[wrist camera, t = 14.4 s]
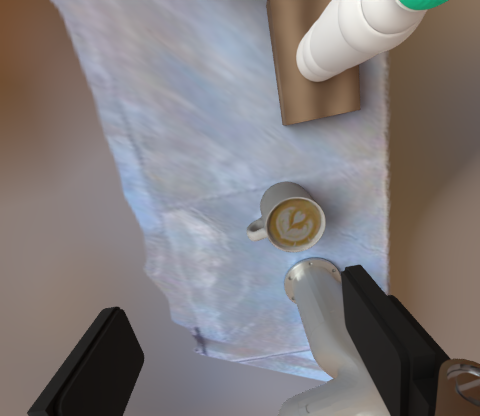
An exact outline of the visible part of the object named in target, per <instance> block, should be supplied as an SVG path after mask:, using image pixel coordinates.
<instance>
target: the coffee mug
mask: <svg viewBox="0 0 480 416" xmlns="http://www.w3.org/2000/svg"><path fill="white" fill-rule="evenodd" d="M260 210H261V214H262V217H261V218H259V219H258V220H256V221H254V222H253V223H251V224H250V225H249V226H248V228H247V235H248V237H249V239H250V240H252V241H259V240H262V239H264V238H267V237H268V239H269V241H270V242H271V243H272V244H273V245H274V246H275V247H277V248H278V249H280V250H283V251H286V252H300V251H304V250H306V249H309V248H310V247H312V246H314V245H315V244H316V243H317V242H318V241H319V240H320V238H321V237H322V235H323V233H324V230H325V225H326V220H325V215H324V212H323V210H322V209H321V207H320V206H319V205H318V204H317V203H316V201H315V200H314V199H313V198H312V197H311V196H310V195H309V194H308V193H307V192H306V191H305V190H304V189H303V188H302V187H301V186H299V185H298V184H295V183H292V182H281V183H277V184H275V185H273V186H271V187H270V188H269V189H268V190H267V191H266V192H265V193H264V195H263V197H262V199H261V203H260ZM259 229H260V230H259ZM257 230H258V231H257Z"/></svg>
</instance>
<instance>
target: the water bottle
mask: <svg viewBox="0 0 480 416" xmlns="http://www.w3.org/2000/svg"><path fill="white" fill-rule="evenodd" d="M446 1H448V0H332V1H331V2H330V3H329V4H328V6H327V7H326V8H325V10H324V11H323V13H322V14H321V16H320V17H319V19H318V20H317V21H316V22H315V23H314V24H313V25H312V27H311V28H310V30H309V31H308V32H307V33H306V34H305V36H304V37H303V38H302V40H301V42H300V44H299V46H298V49H297V54H296V61H297V66H298V69H299V71H300V72H301V74H302V75H303V76H304V77H305V78H307V79H308V80H310V81H314V82H320V81H325V80H327V79H329V78H331V77H333V76H335V75H337V74H339V73H341V72H343V71H345V70H346V69H348V68H351V67H354V66H356V65H358V64H360V63H362V62H364V61H366V60H368V59H370V58H372V57H374V56H376V55H377V54H379V53H382V52H385V51H388V50H390V49H392V48H394V47H395V46H397V45H399V44H400V43H401V42H403V41H404V40H405V39H407V38H408V37H409V36H410V35H411V34H412V33H413V31H414V30H415V29H416V28H417V26H418V25H419V23H420V22H421V20H422V18H423V17H424V15H425V13H426V11H427V10H428V9H430V8H433V7H436V6H438V5H441V4H442V3H444V2H446Z"/></svg>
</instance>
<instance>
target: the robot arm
mask: <svg viewBox="0 0 480 416" xmlns="http://www.w3.org/2000/svg"><path fill="white" fill-rule="evenodd" d="M341 283H342V285H341ZM284 287H285V291H286V294H287V296H288V298H289V299H290V300H291V301H292V302H294V303H295V304H297V307H298V310H299V313H300V317H301V320H302V323H303V326H304V329H305V333H306V336H307V339H308V342H309V346H310V349H311V352H312V354H313V357H314V359H315V361H316V362H317V364H318V365H319V366H320V367H321V368H322V369H323V370H324V371H325V372H326V373H327V374H328V375H330V376H331V377H332V378H334V379H332V380H330V381H327V383H325V384H322V385H320V386H317V387H315V388H312V389H310V390H307V391H305V392H302V393H300V394H298V395H295V396H293V397H291V398H289V399H288V400H286V401H285V402H284V403H283V404H282V406H281V408H280V410H279V414H278V416H480V364H479V363H476V362H473V361H470V360H466V359H450V358H449V357H448V355H447V354H446V353H445V352H444V351H443V350H442V349H441V347H440V346H439V345H438V344H437V343H436V342H435V341H434V340H433V338H432V337H431V336H430V335H429V334H428V333H427V332H426V331H425V329H424V328H423V327H422V326H421V325H420V324H419V323H418V322H417V320H416V319H415V318H414V317H413V316H412V315H411V314H410V313H409V311H408V310H407V309H406V308H405V307H404V306H403V305H402V304H401V302H400V301H399V300H398V299H397V298H396V297H394V296H393V295H388V296H387V295H386V294H385V293H384V292H383V291H382V289H381V288H380V287H379V286H378V285H377V284H376V282H375V281H374V280H373V279H372V278H371V276H370V275H369V274H368V273H367V272H366V270H365V269H364V268H363V267H362V266H361V265H355V266H349V267H346V268H345V271H342V272H341V275H340V273H339V271H338V269H337V268H336V267H335V265H333V264H332V263H331V262H329V261H327V260H324V259H321V258H309V259H305V260H302V261H300V262H298V263H296V264H295V265H294V266H292V267H291V268H290V270H289V271H288V272H287V274H286V276H285V280H284ZM143 363H144V353H143V351H142V349H141V347H140V345H139V343H138V340H137V338H136V336H135V334H134V331H133V329H132V327H131V325H130V323H129V321H128V318H127V316H126V314H125V312H124V310H122V309H120V308H119V307H111V308H105V309H103V310H102V311H101V312H100V314H99V315H98V316H97V318H96V319H95V320H94V322H93V323H92V325H91V326H90V327H89V329H88V330H87V331H86V333H85V334H84V335H83V337H82V338H81V340H80V341H79V342H78V344H77V345H76V346H75V348H74V349H73V351H72V352H71V353H70V355H69V356H68V357H67V359H66V360H65V361H64V363H63V364H62V366H61V367H60V368H59V370H58V371H57V372H56V374H55V375H54V377H53V378H52V379H51V381H50V382H49V384H48V385H47V386H46V388H45V389H44V390H43V392H42V393H41V394H40V396H39V397H38V399H37V400H36V401H35V403H34V404H33V405H32V407H31V408H30V409H29V411H28V412H27V414H28V415H29V416H123V413H124V411H125V408H126V406H127V403H128V401H129V398H130V396H131V393H132V391H133V388H134V386H135V383H136V381H137V378H138V376H139V373H140V371H141V368H142V366H143Z"/></svg>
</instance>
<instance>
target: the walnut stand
mask: <svg viewBox="0 0 480 416" xmlns="http://www.w3.org/2000/svg"><path fill="white" fill-rule="evenodd" d="M331 1H332V0H267V4H266V8H267V15H268V22H269V29H270V37H271V44H272V51H273V58H274V65H275V73H276V80H277V87H278V94H279V101H280V109H281V116H282V123H283V125H290V124H295V123H300V122H304V121H309V120H314V119H318V118H323V117H328V116H332V115H337V114H342V113H346V112H351V111H356V110H360V85H359V64H358V65H356V66H354V67H351V68H348V69H346V70H345V71H343V72H341V73H339V74H337V75H335V76H333V77H331V78H329V79H327V80H325V81H320V82H314V81H310V80H308V79H307V78H305V77H304V76H303V75H302V74H301V72H300V71H299V69H298V66H297V61H296V54H297V49H298V46H299V44H300V42H301V40H302V38H303V37H304V36H305V34H306V33H307V32H308V31H309V30H310V28H311V27H312V25H313V24H314V23H315V22H316V21H317V20H318V19H319V17H320V16H321V14H322V13H323V11H324V10H325V8H326V7H327V6H328V4H329V3H330V2H331Z"/></svg>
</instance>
